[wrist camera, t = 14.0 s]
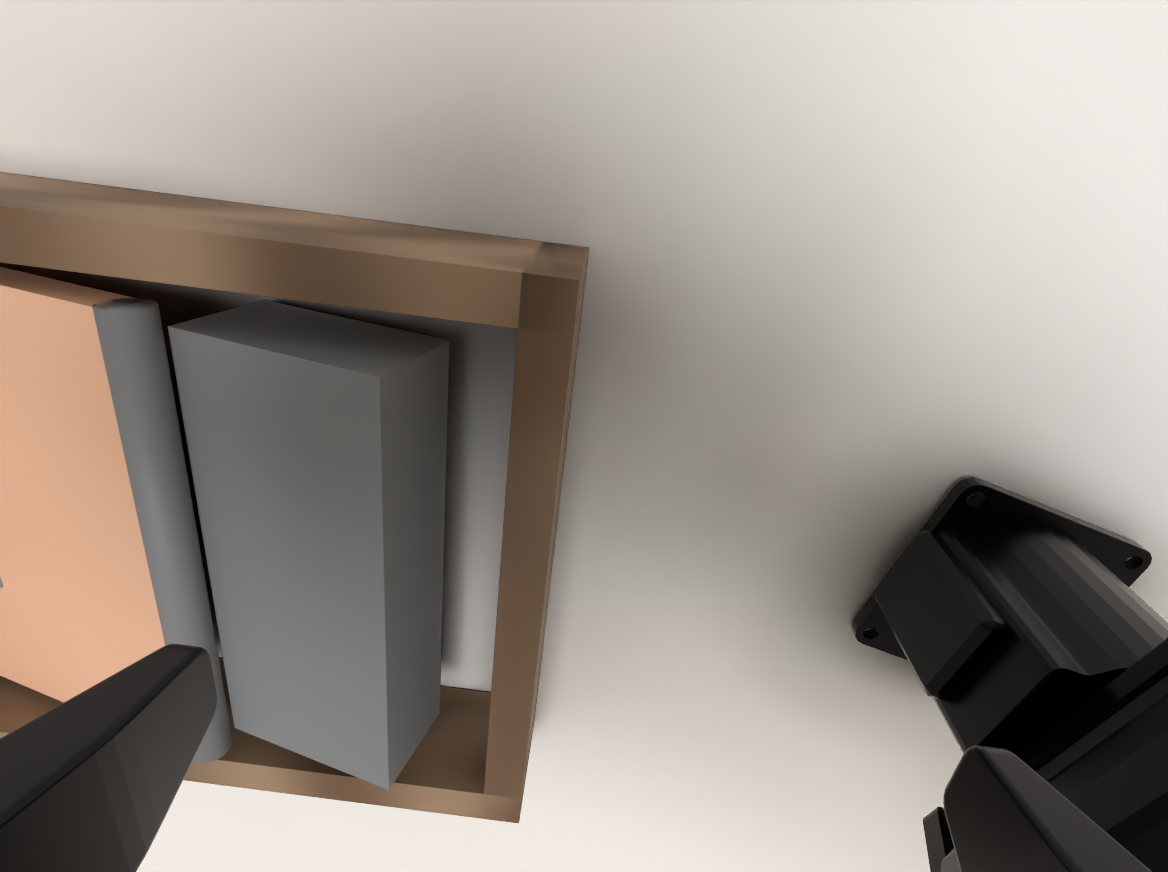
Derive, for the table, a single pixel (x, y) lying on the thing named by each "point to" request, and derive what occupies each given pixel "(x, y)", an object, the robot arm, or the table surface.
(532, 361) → the flap frame
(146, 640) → the flap
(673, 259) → the table surface
